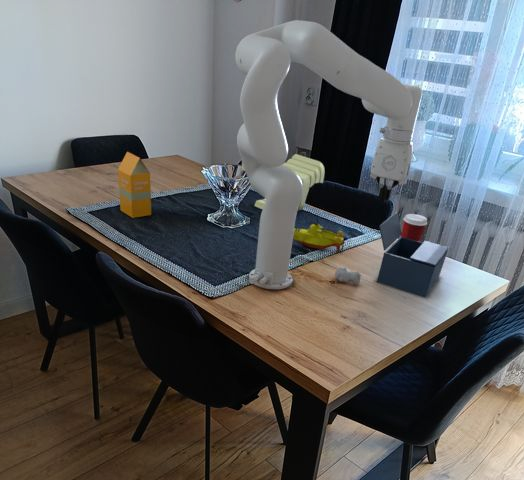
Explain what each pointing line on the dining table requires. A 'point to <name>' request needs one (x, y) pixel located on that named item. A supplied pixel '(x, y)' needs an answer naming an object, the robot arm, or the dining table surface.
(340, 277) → the pale two-lobed sculpture
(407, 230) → the paper cup
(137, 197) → the orange juice
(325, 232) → the toy boat
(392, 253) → the carton
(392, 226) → the flap
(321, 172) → the slatted curved stool
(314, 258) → the dining table surface
